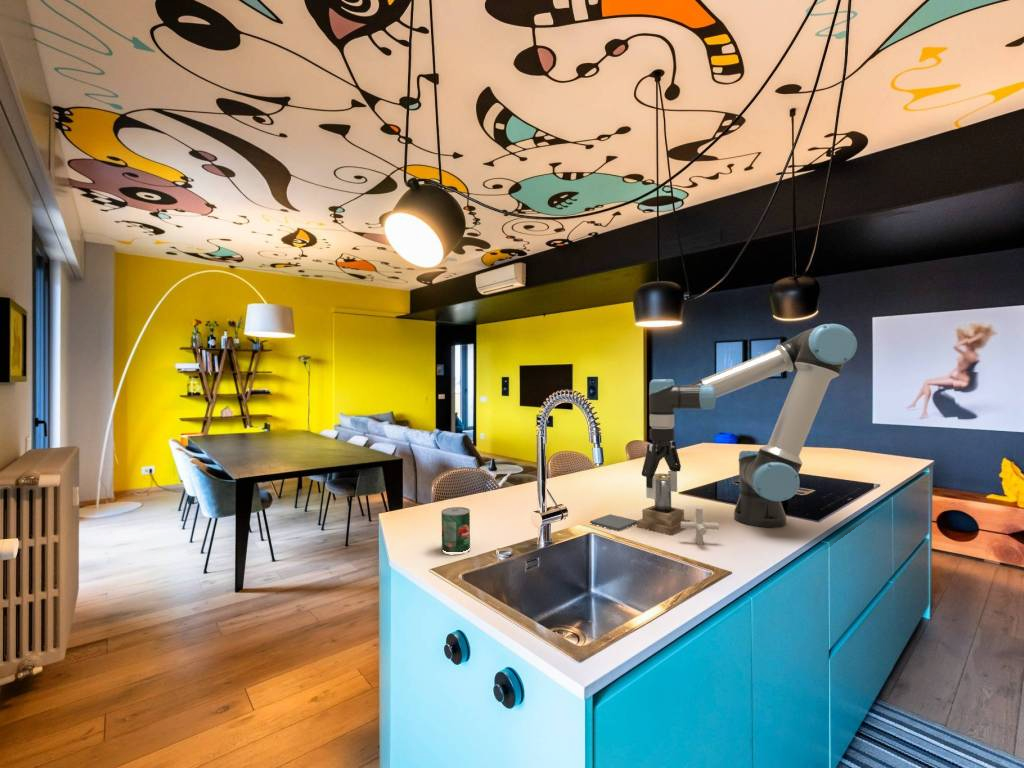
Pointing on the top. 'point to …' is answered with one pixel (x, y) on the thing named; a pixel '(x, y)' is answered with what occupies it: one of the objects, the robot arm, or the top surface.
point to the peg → (663, 493)
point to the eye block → (662, 520)
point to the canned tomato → (455, 529)
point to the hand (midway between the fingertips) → (662, 494)
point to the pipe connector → (699, 525)
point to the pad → (614, 522)
